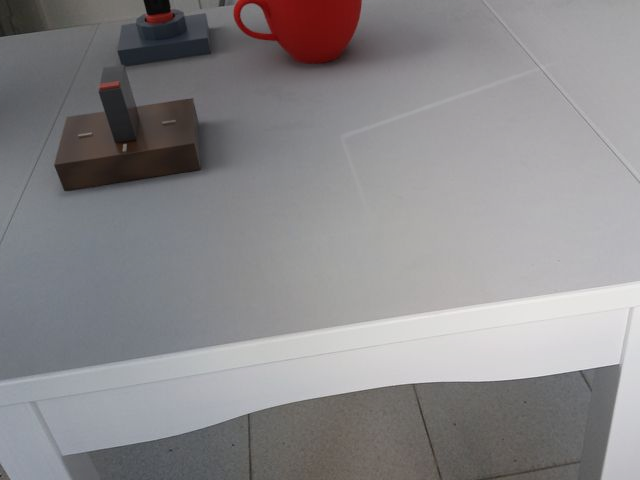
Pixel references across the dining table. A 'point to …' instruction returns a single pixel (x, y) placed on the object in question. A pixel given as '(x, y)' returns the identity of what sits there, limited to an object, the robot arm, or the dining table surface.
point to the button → (159, 17)
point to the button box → (164, 39)
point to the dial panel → (129, 146)
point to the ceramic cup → (306, 26)
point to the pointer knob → (119, 103)
